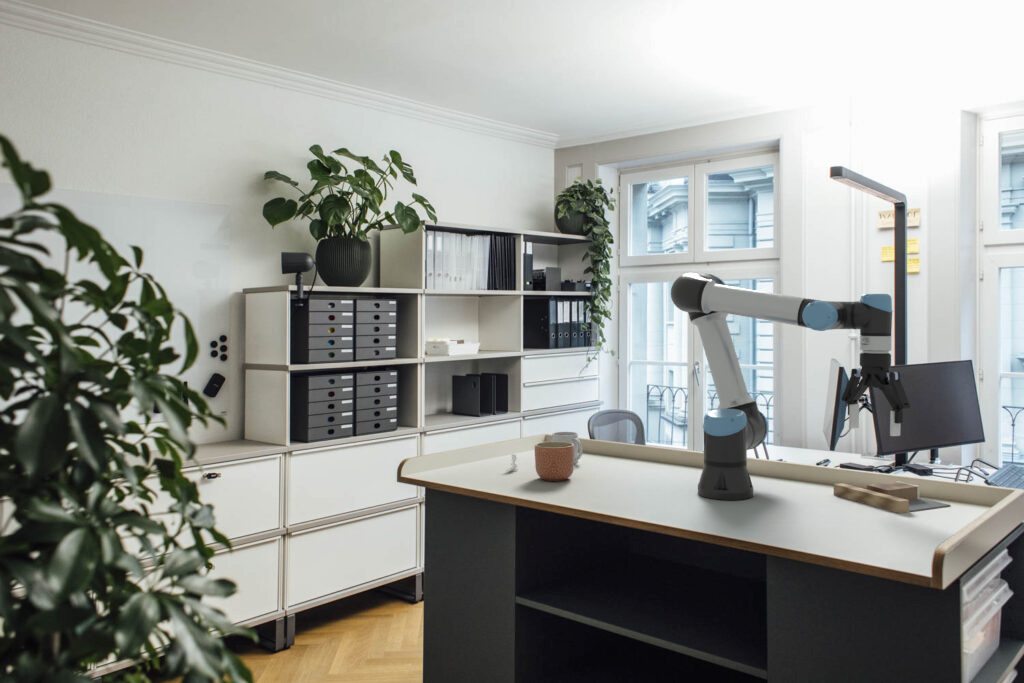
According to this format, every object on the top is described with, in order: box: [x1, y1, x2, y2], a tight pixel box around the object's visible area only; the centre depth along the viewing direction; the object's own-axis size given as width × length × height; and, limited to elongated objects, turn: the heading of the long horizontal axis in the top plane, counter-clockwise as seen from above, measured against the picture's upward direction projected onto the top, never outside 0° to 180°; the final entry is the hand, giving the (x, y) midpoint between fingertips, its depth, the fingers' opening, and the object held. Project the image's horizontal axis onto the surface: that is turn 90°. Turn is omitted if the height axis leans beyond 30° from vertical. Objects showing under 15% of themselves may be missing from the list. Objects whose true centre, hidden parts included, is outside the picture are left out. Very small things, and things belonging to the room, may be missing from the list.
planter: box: [534, 440, 575, 482], centre depth 237 cm, size 12×12×11 cm
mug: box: [551, 431, 584, 465], centre depth 264 cm, size 11×10×10 cm
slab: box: [866, 480, 921, 501], centre depth 204 cm, size 7×4×11 cm
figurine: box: [506, 453, 519, 473], centre depth 251 cm, size 8×8×6 cm
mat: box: [908, 497, 951, 513], centre depth 204 cm, size 22×14×1 cm, turn 21°
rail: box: [833, 482, 909, 514], centre depth 201 cm, size 22×3×3 cm, turn 21°
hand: (873, 431), depth 202 cm, fingers open, 13 cm apart
